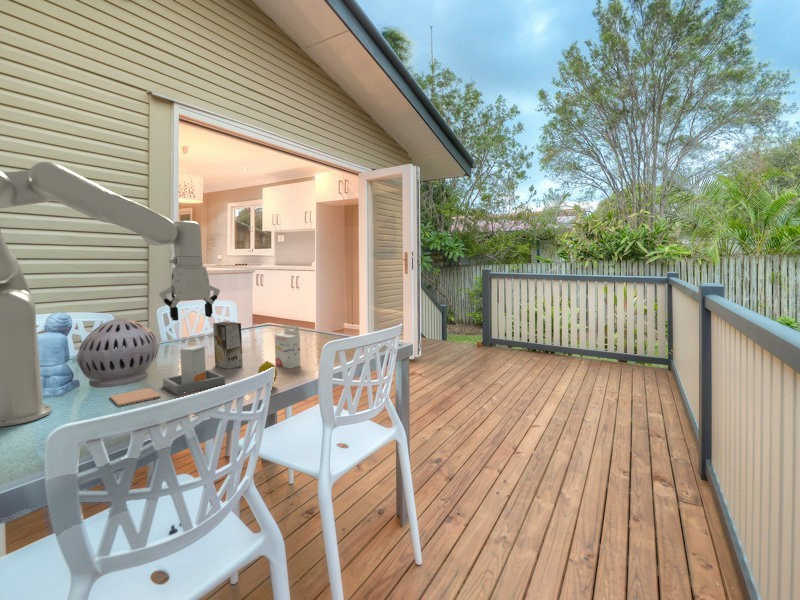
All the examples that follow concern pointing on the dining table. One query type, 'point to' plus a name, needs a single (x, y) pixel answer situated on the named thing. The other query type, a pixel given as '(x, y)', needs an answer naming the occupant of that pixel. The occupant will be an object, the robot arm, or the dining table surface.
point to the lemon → (267, 366)
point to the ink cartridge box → (288, 348)
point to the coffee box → (228, 344)
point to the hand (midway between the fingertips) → (192, 318)
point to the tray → (193, 383)
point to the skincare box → (193, 364)
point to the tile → (134, 396)
